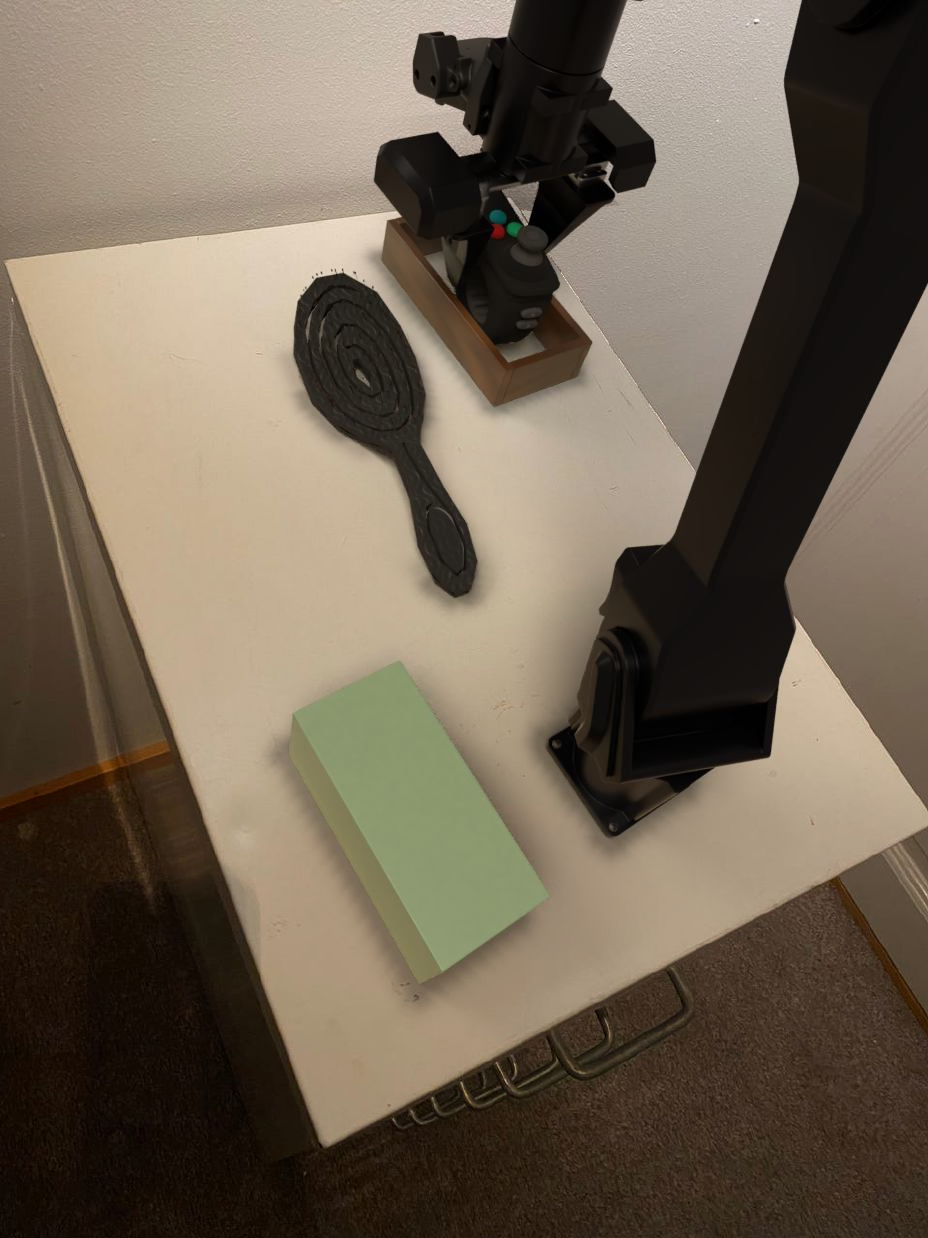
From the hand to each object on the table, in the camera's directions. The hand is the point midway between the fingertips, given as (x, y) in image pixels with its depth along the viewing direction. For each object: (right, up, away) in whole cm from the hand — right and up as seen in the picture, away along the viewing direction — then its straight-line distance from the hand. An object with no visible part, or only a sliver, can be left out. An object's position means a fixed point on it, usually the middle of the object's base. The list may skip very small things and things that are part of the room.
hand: (490, 274), depth 60 cm
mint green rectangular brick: (-5, -36, -16) cm, 40 cm away
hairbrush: (-7, -13, -4) cm, 15 cm away
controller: (-1, -2, +4) cm, 4 cm away
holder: (-1, -2, +3) cm, 4 cm away
